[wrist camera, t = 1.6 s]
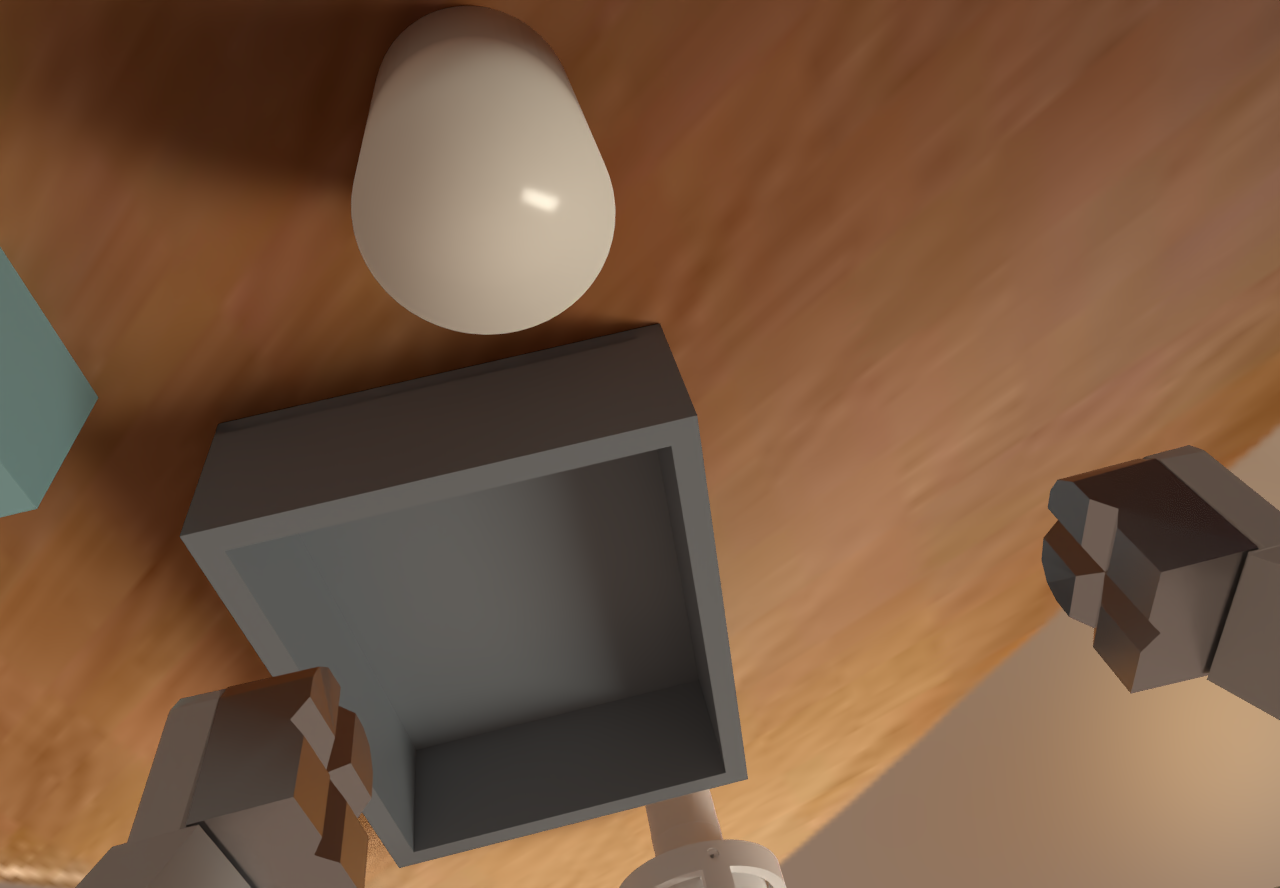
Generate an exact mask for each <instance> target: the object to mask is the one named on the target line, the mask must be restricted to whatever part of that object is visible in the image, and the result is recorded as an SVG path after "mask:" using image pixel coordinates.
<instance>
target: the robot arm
mask: <svg viewBox="0 0 1280 888" xmlns="http://www.w3.org/2000/svg"><path fill="white" fill-rule="evenodd" d="M1048 509H1049V510H1050V511H1051V512H1052V513H1053V514H1054V516H1055V517H1056V518H1057V519H1058V521H1057V522H1056V523H1055V525H1054V526H1053V527H1052V528H1051V529H1050V531H1049V532H1048V533H1047V534H1046V535H1045V537H1044V539H1043V551H1042V563H1043V567H1044V571H1045V575H1046V580H1047V583H1048V585H1049V587H1050V589H1051V591H1052V593H1053V595H1054V597H1055V599H1056V600H1057V602H1058V603H1059V604H1060V606H1061V607H1062V608H1063V609H1064V611H1065V612H1066V613H1067V615H1068V616H1069V617H1071V618H1073V619H1075V620H1077V621H1079V622H1082V623H1084V624H1086V625H1089V626H1091V627H1093V628H1094V640H1093V647H1094V649H1095V650H1096V651H1097V652H1098V654H1099V655H1100V656H1101V657H1102V658H1103V660H1104V661H1105V662H1106V663H1107V665H1108V666H1109V667H1110V668H1111V669H1112V671H1113V672H1114V673H1115V675H1116V676H1117V677H1118V678H1119V679H1120V681H1121V682H1122V683H1123V684H1124V686H1125V687H1126V688H1127V689H1128V691H1129V692H1130V693H1135V692H1139V691H1143V690H1148V689H1152V688H1156V687H1160V686H1164V685H1169V684H1173V683H1177V682H1181V681H1185V680H1190V679H1194V678H1198V677H1203V676H1207V675H1208V678H1207V680H1209V681H1211V682H1213V683H1215V684H1216V685H1218V686H1220V687H1222V688H1223V689H1225V690H1227V691H1229V692H1231V693H1232V694H1234V695H1236V696H1238V697H1239V698H1241V699H1243V700H1245V701H1247V702H1248V703H1250V704H1252V705H1254V706H1256V707H1257V708H1259V709H1261V710H1263V711H1264V712H1266V713H1268V714H1270V715H1272V716H1273V717H1275V718H1277V719H1279V720H1280V511H1279V510H1277V509H1276V508H1275V507H1274V506H1272V505H1271V504H1270V503H1269V502H1267V501H1266V500H1265V499H1264V498H1263V497H1261V496H1260V495H1259V494H1258V493H1256V492H1255V491H1253V489H1251V488H1250V487H1249V486H1247V485H1246V484H1245V483H1244V482H1243V481H1241V480H1240V479H1239V478H1238V477H1236V476H1235V475H1234V474H1233V473H1231V472H1230V471H1229V470H1228V469H1226V468H1225V467H1224V466H1223V465H1221V464H1220V463H1219V462H1218V461H1217V460H1215V459H1214V458H1213V457H1212V456H1210V455H1209V454H1208V453H1207V452H1205V451H1204V450H1202V449H1199V448H1196V447H1193V446H1190V445H1188V446H1184V447H1180V448H1177V449H1173V450H1169V451H1165V452H1161V453H1158V454H1154V455H1150V456H1146V457H1144V458H1143V459H1135V460H1131V461H1128V462H1124V463H1120V464H1116V465H1112V466H1108V467H1105V468H1101V469H1097V470H1093V471H1089V472H1086V473H1082V474H1078V475H1074V476H1070V477H1067V478H1063V479H1059V480H1057V482H1056V483H1055V485H1054V486H1053V488H1052V489H1051V491H1050V497H1049V503H1048ZM340 689H341V687H340V685H339V683H338V682H337V680H336V679H335V677H334V676H333V674H332V672H331V671H330V669H329V668H328V667H320V666H319V667H315V668H310V669H306V670H301V671H297V672H293V673H288V674H284V675H279V676H275V677H271V678H266V679H262V680H257V681H253V682H248V683H244V684H240V685H235V686H231V687H228V688H227V689H222V690H218V691H213V692H209V693H204V694H200V695H195V696H191V697H186V698H182V699H180V700H179V701H178V702H177V703H176V704H175V706H174V707H173V708H172V709H171V710H170V712H169V714H168V717H167V720H166V723H165V726H164V730H163V733H162V736H161V739H160V742H159V745H158V748H157V751H156V754H155V758H154V761H153V764H152V767H151V770H150V773H149V776H148V779H147V782H146V786H145V789H144V792H143V795H142V798H141V801H140V804H139V807H138V810H137V814H136V817H135V820H134V823H133V826H132V829H131V832H130V835H129V838H128V842H127V843H124V844H121V845H117V846H114V847H112V848H111V849H110V850H109V851H108V852H107V853H106V854H105V855H104V856H103V858H102V859H101V860H100V861H99V862H98V863H97V864H96V865H95V866H94V868H93V869H92V870H91V871H90V872H89V873H88V874H87V875H86V876H85V877H84V879H83V880H82V881H81V882H80V883H79V884H78V885H77V886H76V887H75V888H364V886H365V874H366V862H367V851H368V839H369V836H368V835H367V833H366V832H365V830H364V828H363V827H362V825H361V824H360V822H359V820H358V819H357V818H358V817H359V816H360V814H361V813H362V811H363V810H364V808H365V807H366V806H367V804H368V803H369V801H370V800H371V798H372V784H373V769H372V761H371V752H370V746H369V743H368V740H367V737H366V734H365V731H364V728H363V726H362V724H361V722H360V720H359V718H358V717H357V715H356V713H354V712H352V711H350V710H347V709H345V708H343V707H340V706H339V698H340ZM1275 888H1280V886H1279V887H1275Z"/></svg>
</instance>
